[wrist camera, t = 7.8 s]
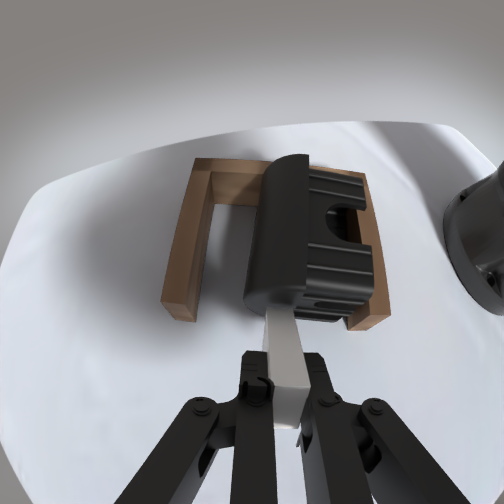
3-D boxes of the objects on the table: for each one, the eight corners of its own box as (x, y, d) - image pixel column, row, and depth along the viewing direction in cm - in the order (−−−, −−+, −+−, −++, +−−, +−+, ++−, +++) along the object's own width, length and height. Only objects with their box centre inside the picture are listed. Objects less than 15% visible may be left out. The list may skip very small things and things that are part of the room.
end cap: (259, 206, 24) (264, 146, 18) (338, 218, 24) (363, 163, 18) (242, 319, 19) (242, 282, 13) (339, 329, 19) (380, 298, 13)
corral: (350, 202, 25) (364, 173, 21) (366, 330, 19) (390, 314, 15) (200, 190, 25) (195, 157, 21) (175, 319, 19) (160, 301, 15)
